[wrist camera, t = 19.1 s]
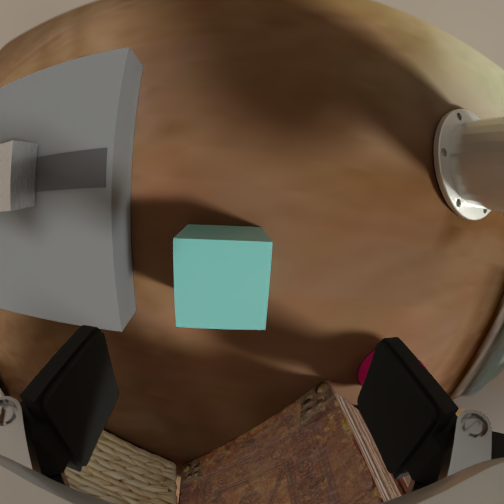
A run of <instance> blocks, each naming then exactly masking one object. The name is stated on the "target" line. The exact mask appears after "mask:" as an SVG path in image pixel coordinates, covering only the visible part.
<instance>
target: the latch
mask: <svg viewBox="0 0 504 504" xmlns="http://www.w3.org/2000/svg"><path fill="white" fill-rule="evenodd" d="M37 147H38V143H31V142H23V141H15V140H12V141H9V142H6V143H2V144H0V212H2V211H12V210H17V209H22V208H27V207H32V206H36V204H35V183H36V160H37Z"/></svg>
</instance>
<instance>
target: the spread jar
mask: <svg viewBox="0 0 504 504" xmlns="http://www.w3.org/2000/svg"><path fill="white" fill-rule="evenodd" d="M1 396H8V395H7V392H6V389H5V387H4V385H3V384H2V382H1V380H0V397H1Z"/></svg>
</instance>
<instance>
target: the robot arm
mask: <svg viewBox="0 0 504 504" xmlns="http://www.w3.org/2000/svg"><path fill="white" fill-rule="evenodd" d="M433 155H434V166H435V172H436V177H437V181H438V184H439V187H440V190H441V192H442V195H443V197H444V199H445V201H446V202H447V204H448V206H449V207H450V208H451V209H452V210H453V212H454V213H456V214H457V215H458V216H460V217H462V218H465V219H469V220H480V219H481V218H483V217H485V216H486V215H487V214H488V213H489V212H490V211H491V210H494V211H499V212H503V213H504V117H498V118H490V119H483V120H481V119H480V118H479V117H478V116H477V115H476V114H475V113H473V112H471V111H469V110H467V109H456V110H452V111H450V112H448V113H446V114H445V115H444V116H443V117H442V119H441V121H440V122H439V124H438V127H437V130H436V133H435V139H434V152H433ZM20 396H21V398H22V401H21V403H19V402H18V401H17V400H16V399H15V398H13V397H10V396H1V397H0V504H114V503H111V502H108V501H105V500H102V499H99V498H96V497H93V496H91V495H88V494H85V493H83V492H80V491H78V490H75V489H73V488H70V485H69V483H68V480H67V478H66V475H65V472H64V471H65V469H66V467H68V468H71V469H73V470H76V471H78V472H81V469H82V467H83V466H86V465H87V464H88V463H89V460H90V458H91V456H92V453H93V451H94V449H95V447H96V444H97V442H98V440H99V438H100V435H101V433H102V431H103V429H104V427H105V425H106V422H107V420H108V418H109V416H110V414H111V412H112V410H113V408H114V406H115V403H116V401H117V399H118V396H119V390H118V387H117V383H116V380H115V376H114V373H113V369H112V365H111V361H110V357H109V353H108V349H107V345H106V340H105V336H104V334H103V333H102V332H100V329H99V328H98V327H93V326H87V325H82V326H81V327H80V328H79V329H78V330H77V331H76V332H75V333H74V334H73V336H72V337H71V338H70V339H69V340H68V341H67V342H66V343H65V344H64V345H63V346H62V347H61V348H60V350H59V351H58V352H57V353H56V354H55V355H54V356H53V357H52V358H51V360H50V361H49V362H48V363H47V364H46V365H45V366H44V368H43V369H42V370H41V371H40V372H39V373H38V375H37V376H36V377H35V378H34V379H33V380H32V382H31V383H30V384H29V385H28V386H27V388H26V389H25V390H24V391H23V393H22V394H21V395H20ZM358 407H359V409H360V411H361V414H362V416H363V418H364V420H365V422H366V424H367V427H368V429H369V431H370V433H371V435H372V437H373V440H374V442H375V444H376V446H377V448H378V451H379V453H380V455H381V457H382V460H383V462H384V464H385V466H386V469H387V471H388V472H389V473H390V474H393V476H394V479H395V480H396V479H399V478H402V477H404V476H407V475H409V474H410V476H411V478H412V479H411V481H410V484H409V487H408V489H407V492H406V494H405V495H402V496H400V497H397V498H394V499H391V500H388V501H385V502H382V503H379V504H504V434H502V433H497V432H493V431H492V427H491V422H490V421H489V419H488V418H487V417H486V416H485V415H484V414H483V413H481V412H479V411H476V410H466V411H463V412H462V413H460V415H459V416H458V417H457V416H456V414H455V413H456V412H457V410H458V407H457V406H456V404H455V403H454V402H453V401H452V399H451V398H450V397H449V396H448V394H447V393H446V392H445V391H444V390H443V388H442V387H441V386H440V385H439V384H438V382H437V381H436V380H435V379H434V378H433V376H432V375H431V374H430V373H429V372H428V370H427V369H426V368H425V367H424V366H423V365H422V363H421V362H420V361H419V360H418V359H417V358H416V357H415V355H414V354H413V353H412V352H411V351H410V350H409V349H408V347H407V346H406V345H405V344H404V343H403V342H402V341H401V340H400V339H399V338H398V337H393V338H384V339H382V340H381V342H380V343H378V344H377V346H376V348H375V352H374V355H373V358H372V361H371V364H370V367H369V370H368V372H367V375H366V378H365V381H364V383H363V386H362V389H361V391H360V394H359V396H358Z"/></svg>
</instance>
